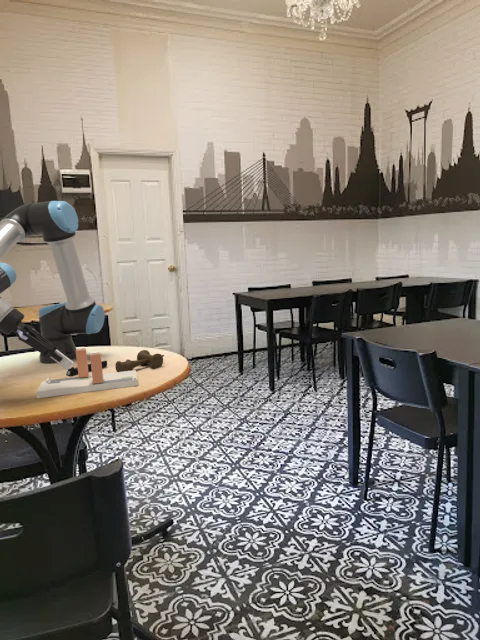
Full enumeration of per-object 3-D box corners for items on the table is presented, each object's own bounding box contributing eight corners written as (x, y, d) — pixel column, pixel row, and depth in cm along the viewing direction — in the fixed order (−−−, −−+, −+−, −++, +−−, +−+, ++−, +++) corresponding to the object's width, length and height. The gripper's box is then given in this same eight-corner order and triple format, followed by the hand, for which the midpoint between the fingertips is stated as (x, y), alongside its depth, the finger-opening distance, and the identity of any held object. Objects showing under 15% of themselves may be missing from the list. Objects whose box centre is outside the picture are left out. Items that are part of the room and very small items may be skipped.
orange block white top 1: (79, 375, 156) (76, 347, 154) (88, 374, 157) (85, 346, 155) (78, 377, 153) (75, 349, 152) (88, 376, 154) (85, 348, 152)
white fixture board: (43, 386, 154) (42, 378, 154) (136, 375, 161) (135, 367, 161) (36, 399, 140) (35, 390, 140) (138, 386, 148) (137, 377, 147)
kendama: (111, 374, 167) (157, 361, 181) (126, 379, 161) (172, 365, 175) (109, 358, 166) (155, 346, 180) (124, 362, 159) (171, 349, 173)
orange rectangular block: (93, 381, 147) (90, 351, 146) (103, 380, 148) (100, 350, 147) (93, 383, 145) (89, 353, 143) (103, 382, 145) (99, 352, 144)
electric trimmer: (109, 368, 176) (109, 360, 175) (70, 377, 165) (69, 368, 164) (105, 367, 178) (104, 359, 178) (65, 376, 168) (64, 367, 167)
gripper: (1, 324, 143) (65, 370, 149) (-10, 329, 130) (59, 380, 136) (18, 305, 143) (80, 353, 149) (8, 309, 131) (77, 361, 137)
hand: (70, 366), depth 143 cm, fingers closed
